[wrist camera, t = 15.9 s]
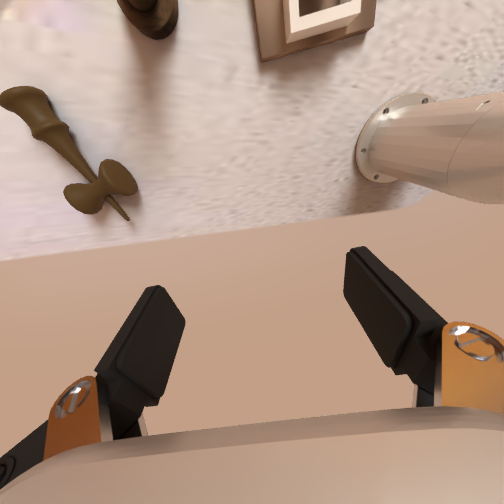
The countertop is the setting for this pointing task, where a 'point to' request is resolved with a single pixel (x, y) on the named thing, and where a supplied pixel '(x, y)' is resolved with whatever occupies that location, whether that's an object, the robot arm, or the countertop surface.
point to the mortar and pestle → (151, 16)
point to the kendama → (70, 152)
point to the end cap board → (272, 16)
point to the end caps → (317, 19)
